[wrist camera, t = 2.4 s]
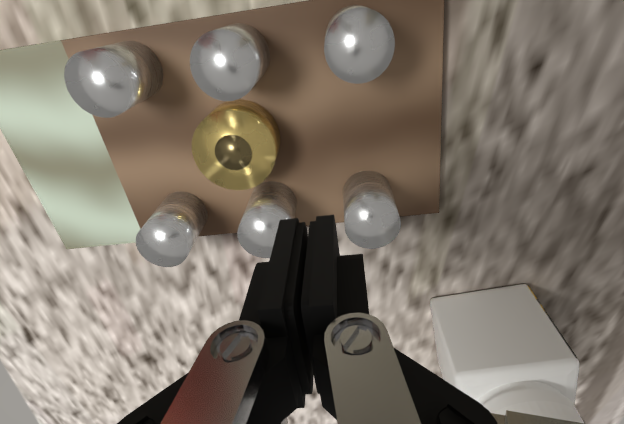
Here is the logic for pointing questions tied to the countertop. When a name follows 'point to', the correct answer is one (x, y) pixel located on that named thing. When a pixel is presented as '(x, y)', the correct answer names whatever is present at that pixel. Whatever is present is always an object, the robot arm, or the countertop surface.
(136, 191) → the board
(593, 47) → the countertop surface
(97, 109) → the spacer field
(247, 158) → the brass knob
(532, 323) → the medicine bottle
